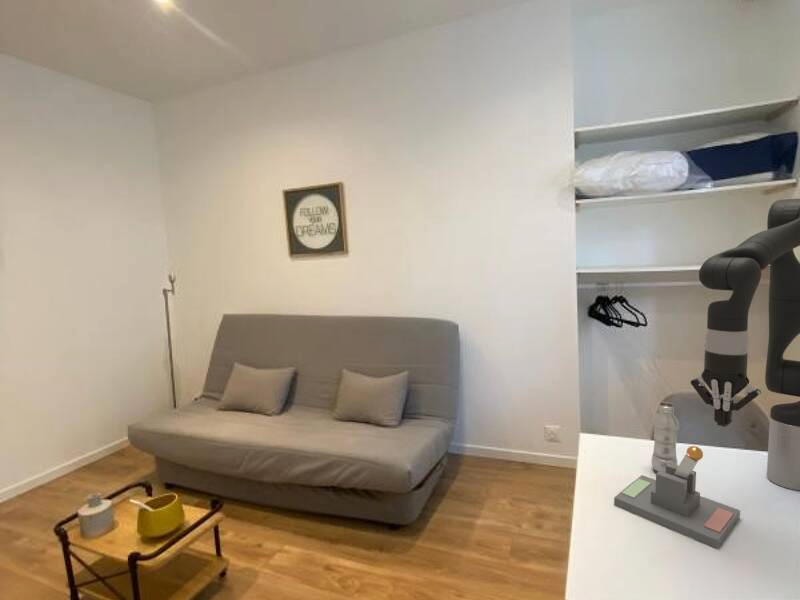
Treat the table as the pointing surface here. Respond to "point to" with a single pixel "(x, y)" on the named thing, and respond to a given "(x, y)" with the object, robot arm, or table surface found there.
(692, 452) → the lever
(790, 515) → the table surface
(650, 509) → the switch box
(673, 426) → the plastic bottle
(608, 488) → the table surface
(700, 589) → the table surface
